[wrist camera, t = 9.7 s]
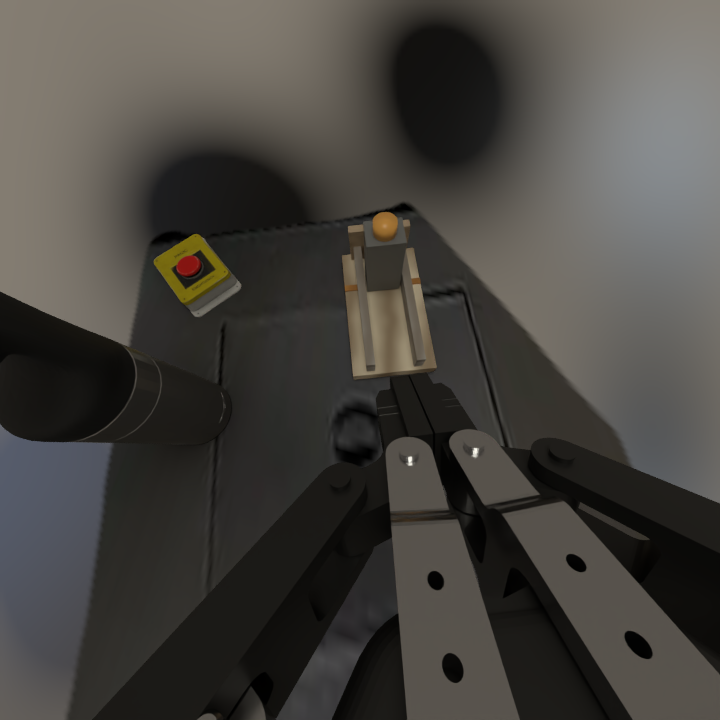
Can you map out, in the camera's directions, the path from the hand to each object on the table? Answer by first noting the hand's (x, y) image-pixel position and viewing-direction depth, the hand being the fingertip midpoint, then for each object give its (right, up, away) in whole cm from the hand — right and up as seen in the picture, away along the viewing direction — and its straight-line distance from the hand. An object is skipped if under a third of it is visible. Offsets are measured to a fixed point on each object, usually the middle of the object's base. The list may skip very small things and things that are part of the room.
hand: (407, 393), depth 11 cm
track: (+2, +9, +33) cm, 34 cm away
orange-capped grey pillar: (+1, +14, +32) cm, 35 cm away
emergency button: (-30, +16, +37) cm, 51 cm away
